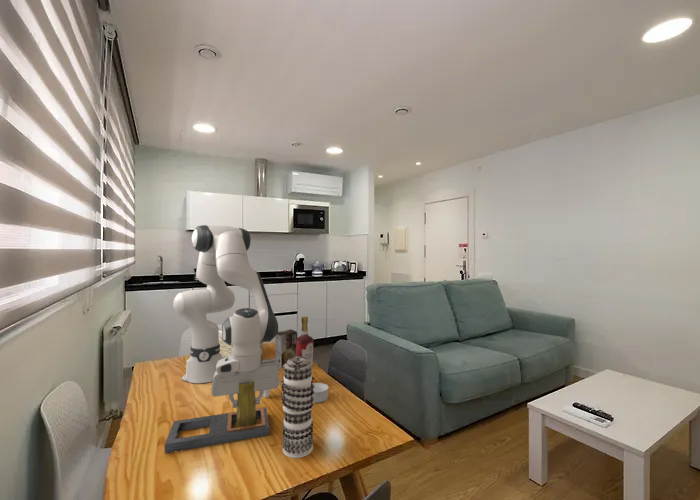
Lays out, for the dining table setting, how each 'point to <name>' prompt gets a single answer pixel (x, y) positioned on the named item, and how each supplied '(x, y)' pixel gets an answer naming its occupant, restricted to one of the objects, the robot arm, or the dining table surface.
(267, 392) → the lightbulb
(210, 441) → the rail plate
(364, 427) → the dining table surface
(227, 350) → the storage basket
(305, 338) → the liquor
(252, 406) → the vase
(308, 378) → the decorative candle
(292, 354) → the coffee box
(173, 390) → the dining table surface
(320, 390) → the ramekin
